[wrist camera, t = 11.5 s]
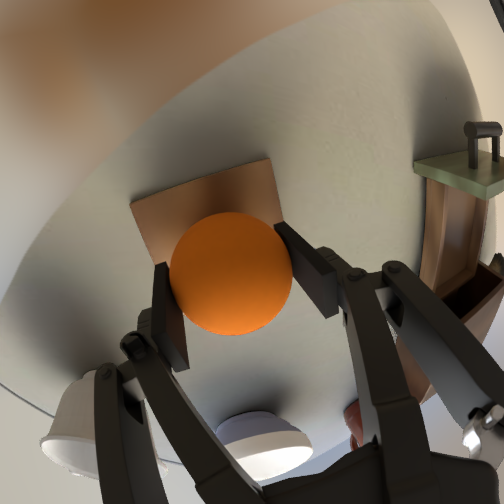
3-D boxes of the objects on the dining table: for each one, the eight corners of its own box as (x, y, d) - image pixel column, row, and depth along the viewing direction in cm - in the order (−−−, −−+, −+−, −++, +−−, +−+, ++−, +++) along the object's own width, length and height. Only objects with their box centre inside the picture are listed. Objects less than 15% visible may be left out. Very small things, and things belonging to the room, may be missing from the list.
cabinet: (406, 287, 29) (455, 330, 21) (465, 251, 30) (508, 280, 23) (389, 368, 37) (419, 406, 30) (443, 331, 39) (472, 361, 31)
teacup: (37, 388, 21) (22, 455, 13) (84, 327, 20) (62, 423, 11) (115, 428, 27) (116, 491, 19) (182, 385, 26) (196, 468, 17)
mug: (352, 394, 37) (382, 441, 28) (386, 385, 40) (415, 424, 31) (322, 431, 42) (343, 472, 33) (355, 421, 45) (377, 457, 36)
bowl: (280, 437, 38) (295, 472, 31) (194, 448, 33) (203, 488, 27) (307, 390, 32) (331, 434, 26) (197, 403, 28) (208, 458, 21)
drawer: (409, 116, 19) (487, 129, 12) (473, 115, 21) (530, 128, 13) (405, 300, 30) (449, 342, 22) (464, 262, 31) (503, 291, 24)
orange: (257, 185, 18) (304, 220, 12) (277, 272, 21) (318, 332, 15) (154, 219, 17) (144, 274, 11) (190, 303, 20) (201, 375, 14)
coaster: (268, 157, 18) (270, 158, 18) (292, 274, 23) (293, 277, 23) (129, 202, 17) (128, 204, 17) (179, 314, 22) (180, 317, 21)
